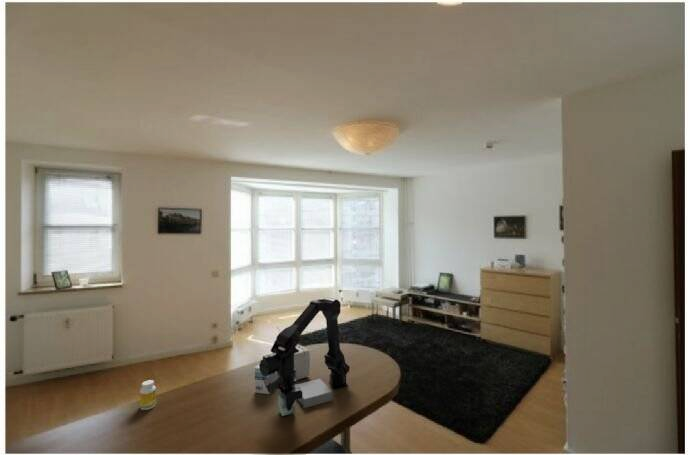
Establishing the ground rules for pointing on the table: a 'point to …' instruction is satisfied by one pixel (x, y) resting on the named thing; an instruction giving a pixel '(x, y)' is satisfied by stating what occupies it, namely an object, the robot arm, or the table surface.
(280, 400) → the teal block
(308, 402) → the grey square block
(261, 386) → the light bulb box
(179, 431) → the table surface
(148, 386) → the supplement bottle
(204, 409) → the table surface
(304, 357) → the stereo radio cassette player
